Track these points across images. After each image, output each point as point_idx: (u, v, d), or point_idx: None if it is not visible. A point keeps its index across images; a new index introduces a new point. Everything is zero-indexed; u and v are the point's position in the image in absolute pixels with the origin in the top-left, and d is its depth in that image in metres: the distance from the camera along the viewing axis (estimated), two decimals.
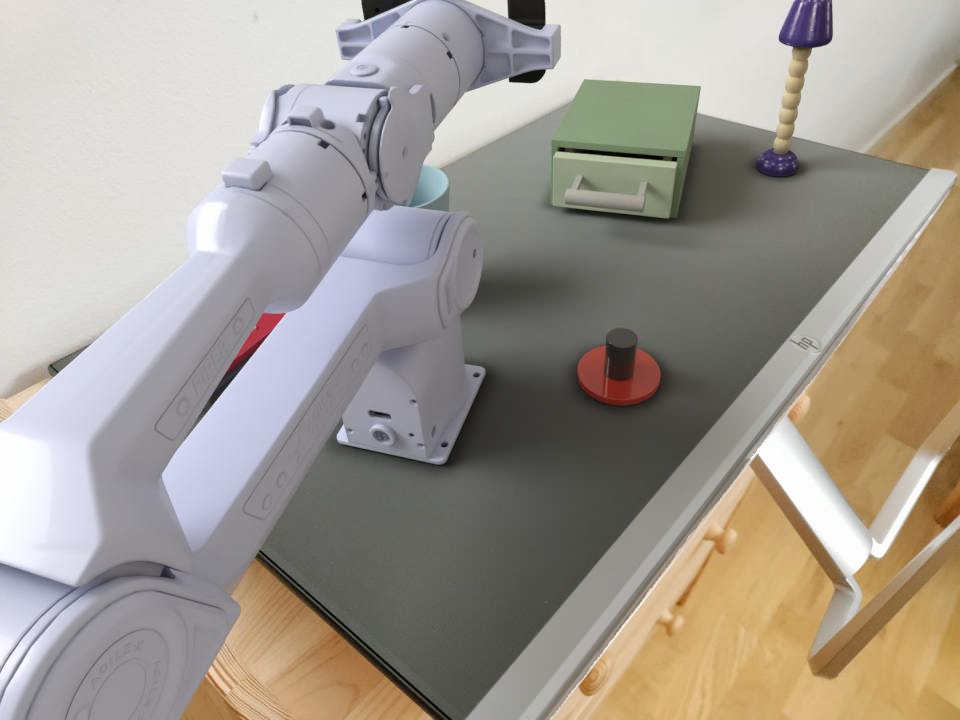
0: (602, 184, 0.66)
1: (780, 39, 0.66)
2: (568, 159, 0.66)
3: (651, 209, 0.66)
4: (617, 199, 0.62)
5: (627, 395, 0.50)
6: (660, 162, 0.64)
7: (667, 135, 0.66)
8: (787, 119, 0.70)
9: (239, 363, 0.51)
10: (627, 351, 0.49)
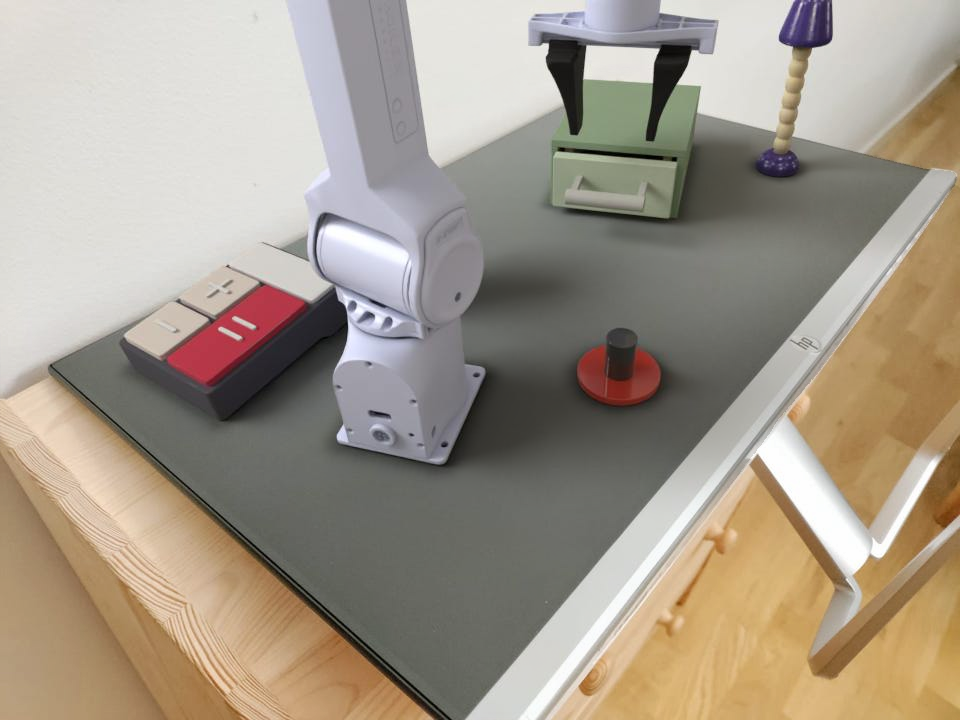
0: (602, 184, 0.66)
1: (780, 39, 0.66)
2: (568, 159, 0.66)
3: (651, 209, 0.66)
4: (617, 199, 0.62)
5: (627, 395, 0.50)
6: (660, 162, 0.64)
7: (667, 135, 0.66)
8: (787, 119, 0.70)
9: (239, 363, 0.51)
10: (627, 351, 0.49)
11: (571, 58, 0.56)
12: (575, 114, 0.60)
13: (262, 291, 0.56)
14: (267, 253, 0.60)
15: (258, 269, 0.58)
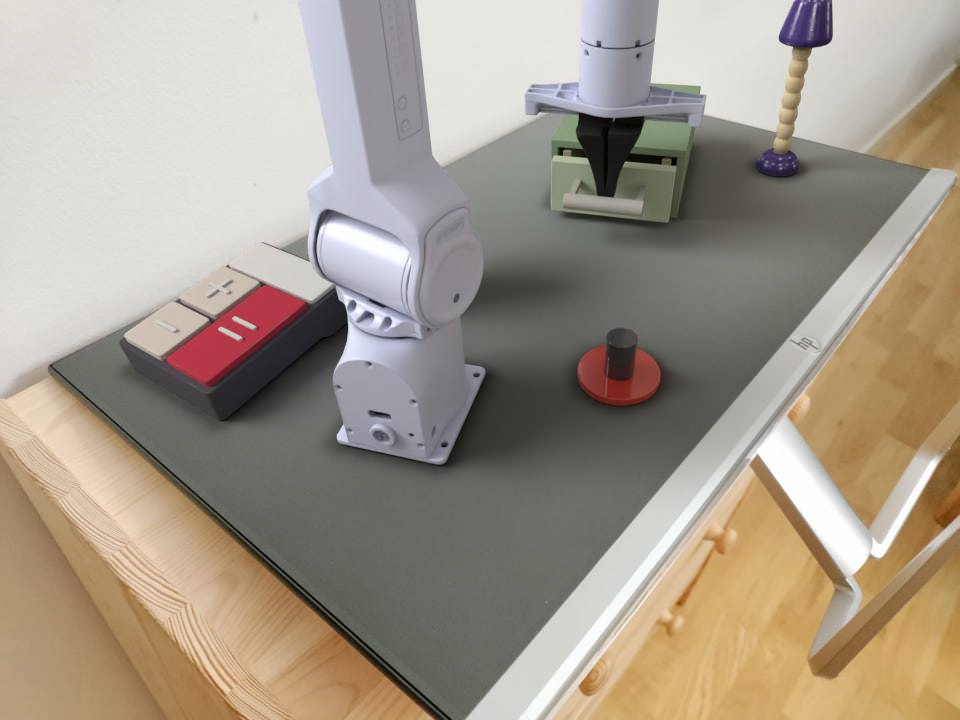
0: None
1: (780, 39, 0.66)
2: (566, 163, 0.65)
3: (650, 213, 0.66)
4: (616, 203, 0.62)
5: (627, 395, 0.50)
6: (659, 166, 0.63)
7: (667, 135, 0.66)
8: (787, 119, 0.70)
9: (239, 363, 0.51)
10: (627, 351, 0.49)
11: (601, 131, 0.58)
12: (603, 181, 0.61)
13: (262, 291, 0.56)
14: (267, 253, 0.60)
15: (258, 269, 0.58)
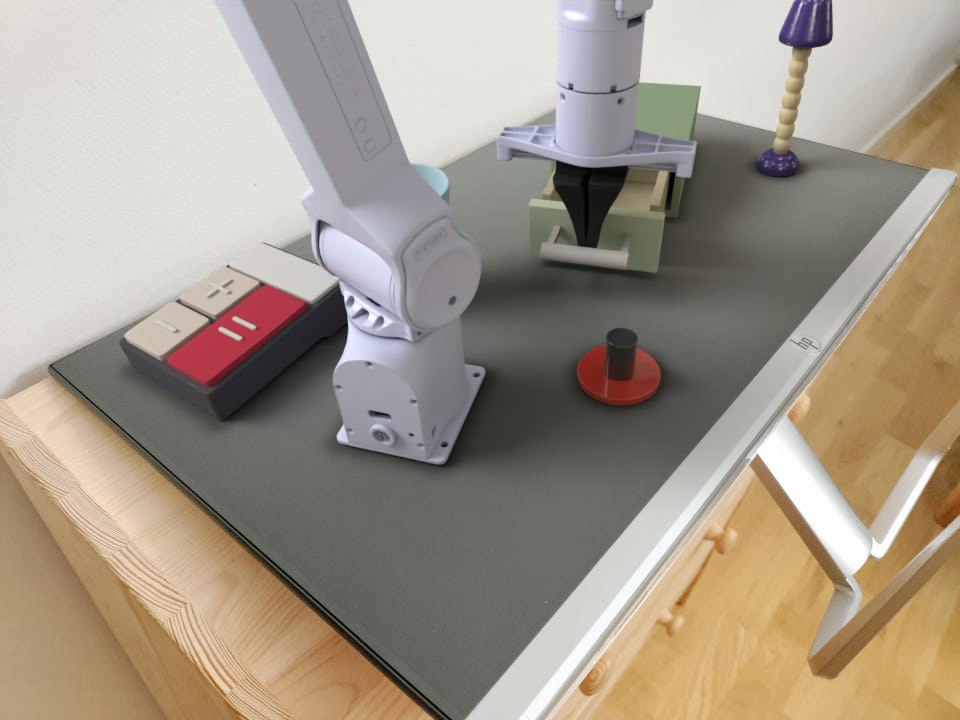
0: None
1: (780, 39, 0.66)
2: (545, 208, 0.59)
3: (637, 263, 0.60)
4: (598, 255, 0.56)
5: (627, 395, 0.50)
6: (646, 213, 0.57)
7: (667, 135, 0.66)
8: (787, 119, 0.70)
9: (239, 363, 0.51)
10: (627, 351, 0.49)
11: (580, 181, 0.52)
12: (584, 232, 0.56)
13: (262, 291, 0.56)
14: (267, 253, 0.60)
15: (259, 269, 0.58)
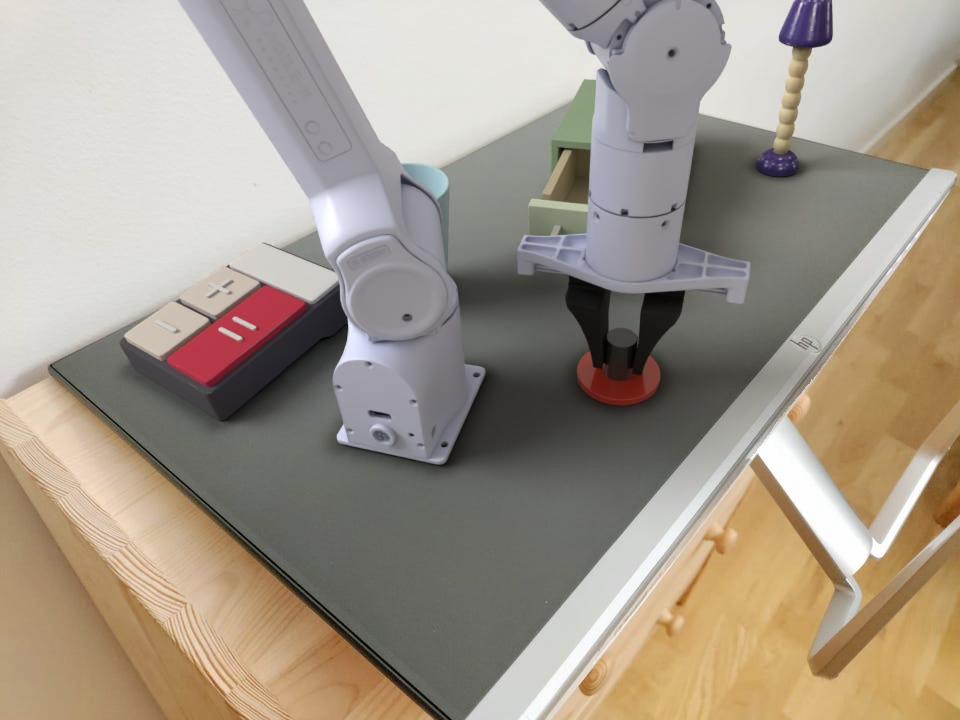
0: None
1: (780, 39, 0.66)
2: (545, 208, 0.59)
3: None
4: None
5: (627, 395, 0.50)
6: None
7: None
8: (787, 119, 0.70)
9: (239, 364, 0.51)
10: (626, 351, 0.49)
11: (597, 301, 0.46)
12: (600, 351, 0.49)
13: (262, 291, 0.56)
14: (267, 253, 0.60)
15: (259, 270, 0.58)
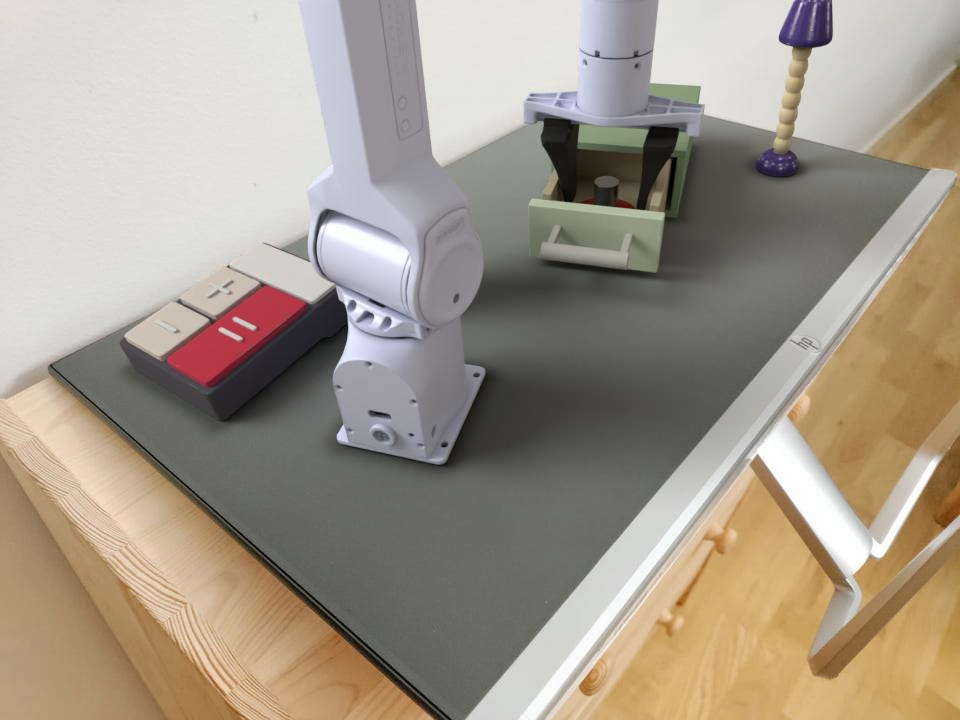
0: (583, 235, 0.60)
1: (780, 39, 0.66)
2: (545, 208, 0.59)
3: (637, 262, 0.60)
4: (598, 255, 0.56)
5: None
6: (646, 213, 0.57)
7: None
8: (787, 119, 0.70)
9: (239, 364, 0.51)
10: (610, 190, 0.62)
11: (565, 138, 0.59)
12: (569, 186, 0.62)
13: (263, 292, 0.56)
14: (268, 253, 0.60)
15: (259, 270, 0.58)
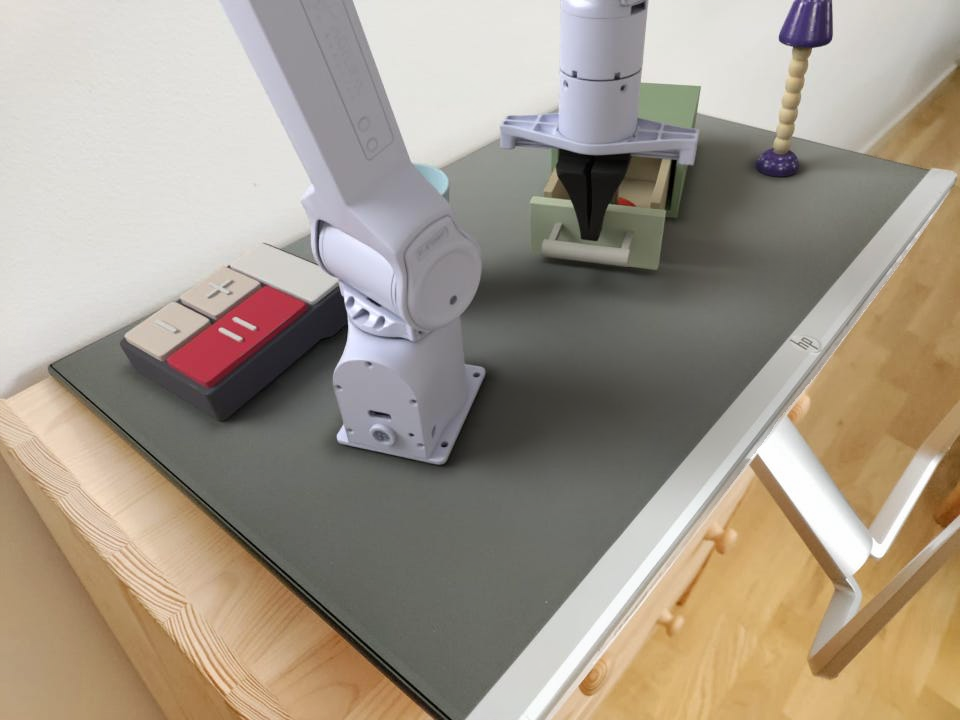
0: None
1: (780, 39, 0.66)
2: (546, 205, 0.60)
3: (637, 260, 0.60)
4: (599, 252, 0.56)
5: None
6: (647, 210, 0.58)
7: None
8: (787, 119, 0.70)
9: (239, 364, 0.51)
10: None
11: (583, 169, 0.52)
12: (587, 221, 0.56)
13: (263, 292, 0.56)
14: (268, 254, 0.60)
15: (259, 270, 0.58)
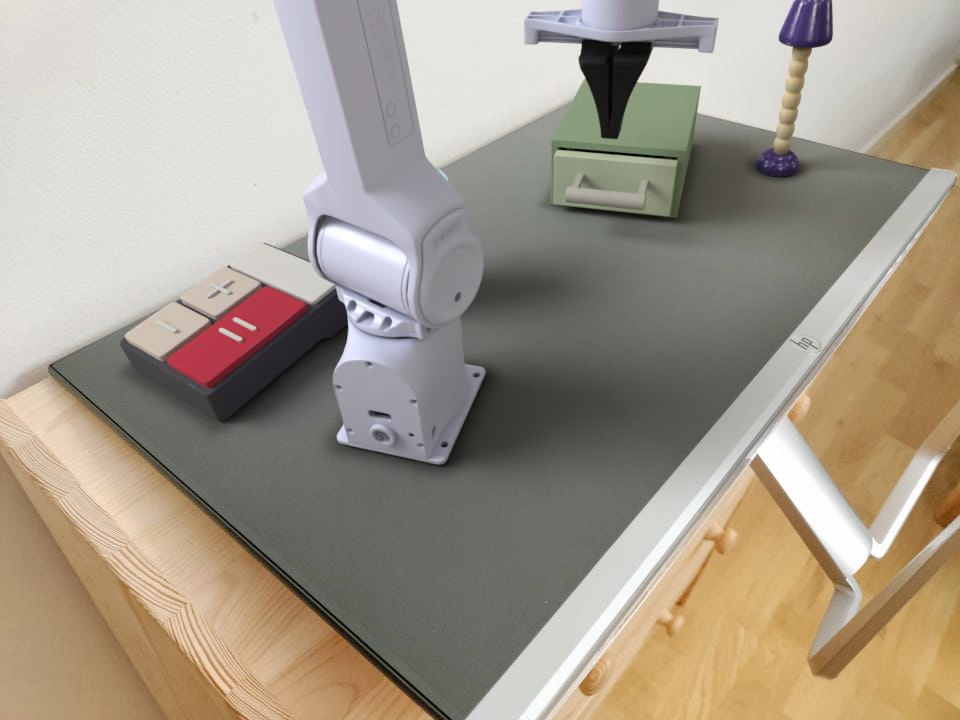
0: (603, 182, 0.66)
1: (780, 39, 0.66)
2: (569, 157, 0.66)
3: (652, 207, 0.66)
4: (618, 197, 0.62)
5: None
6: (660, 160, 0.64)
7: (667, 135, 0.66)
8: (787, 119, 0.70)
9: (239, 365, 0.51)
10: None
11: (606, 59, 0.54)
12: (607, 117, 0.58)
13: (263, 292, 0.56)
14: (268, 254, 0.60)
15: (260, 270, 0.58)
